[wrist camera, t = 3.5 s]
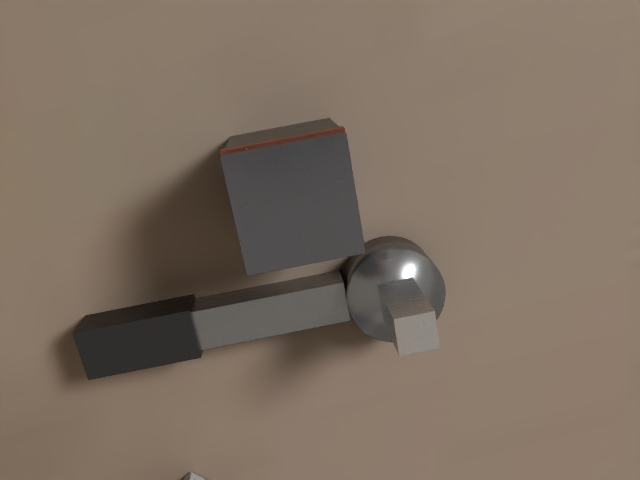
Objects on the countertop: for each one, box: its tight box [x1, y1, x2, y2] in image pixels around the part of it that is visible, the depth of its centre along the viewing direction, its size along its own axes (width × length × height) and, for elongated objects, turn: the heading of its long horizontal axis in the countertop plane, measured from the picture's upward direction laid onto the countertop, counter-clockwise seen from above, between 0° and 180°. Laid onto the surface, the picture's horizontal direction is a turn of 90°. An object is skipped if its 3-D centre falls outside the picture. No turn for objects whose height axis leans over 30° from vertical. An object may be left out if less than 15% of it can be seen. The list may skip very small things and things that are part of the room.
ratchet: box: [73, 236, 445, 380], centre depth 34 cm, size 22×6×8 cm, turn 100°
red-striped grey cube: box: [220, 118, 366, 276], centre depth 32 cm, size 6×6×8 cm
